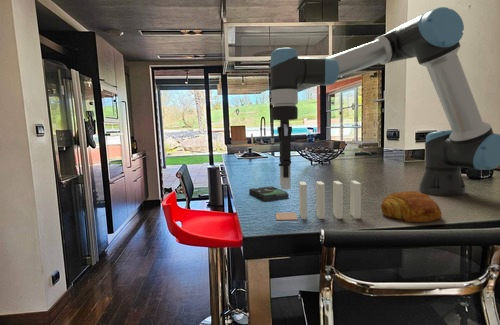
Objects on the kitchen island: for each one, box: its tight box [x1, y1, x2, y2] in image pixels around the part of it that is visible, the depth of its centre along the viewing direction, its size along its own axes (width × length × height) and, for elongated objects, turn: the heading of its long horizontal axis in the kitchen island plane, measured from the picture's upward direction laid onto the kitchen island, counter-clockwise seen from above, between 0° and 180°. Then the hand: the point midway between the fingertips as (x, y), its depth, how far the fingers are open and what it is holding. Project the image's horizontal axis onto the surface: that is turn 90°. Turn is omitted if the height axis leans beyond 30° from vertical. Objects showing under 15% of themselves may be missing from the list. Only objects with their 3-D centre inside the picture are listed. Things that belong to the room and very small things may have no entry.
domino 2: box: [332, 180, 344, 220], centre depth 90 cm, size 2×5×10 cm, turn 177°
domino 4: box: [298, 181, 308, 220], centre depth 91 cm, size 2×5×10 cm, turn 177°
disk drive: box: [248, 186, 290, 202], centre depth 121 cm, size 10×3×15 cm
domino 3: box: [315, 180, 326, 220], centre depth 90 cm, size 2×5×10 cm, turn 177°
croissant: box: [380, 190, 442, 223], centre depth 89 cm, size 14×16×8 cm
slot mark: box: [275, 212, 298, 221], centre depth 91 cm, size 6×7×1 cm
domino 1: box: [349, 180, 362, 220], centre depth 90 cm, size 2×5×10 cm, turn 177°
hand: (285, 186), depth 90 cm, fingers closed on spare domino, 5 cm apart
